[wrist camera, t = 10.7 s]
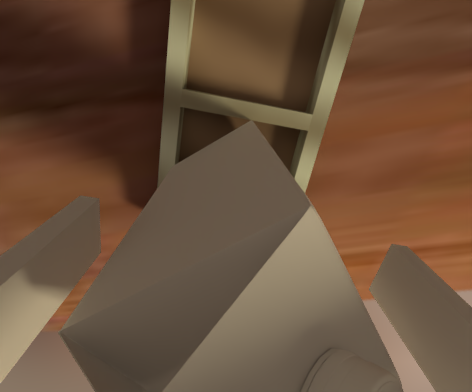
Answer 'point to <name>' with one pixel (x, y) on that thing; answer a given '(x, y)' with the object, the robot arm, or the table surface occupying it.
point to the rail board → (254, 74)
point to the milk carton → (228, 289)
